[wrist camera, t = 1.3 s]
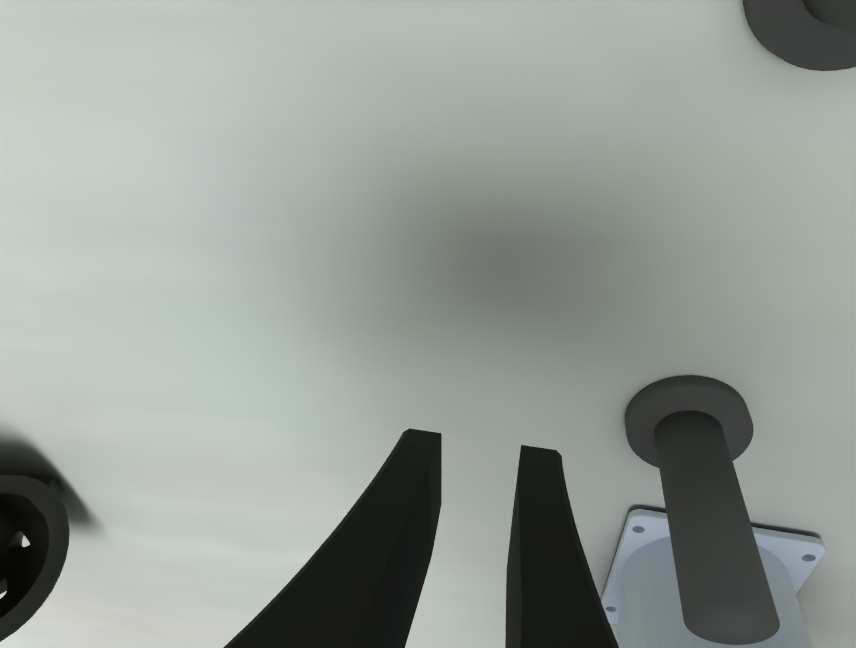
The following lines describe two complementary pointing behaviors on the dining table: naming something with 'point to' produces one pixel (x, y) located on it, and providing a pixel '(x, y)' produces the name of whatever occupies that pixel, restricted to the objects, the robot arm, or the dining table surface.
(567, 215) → the dining table surface
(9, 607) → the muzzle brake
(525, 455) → the robot arm
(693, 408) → the gray flanged cylinder
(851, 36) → the dark flanged peg
